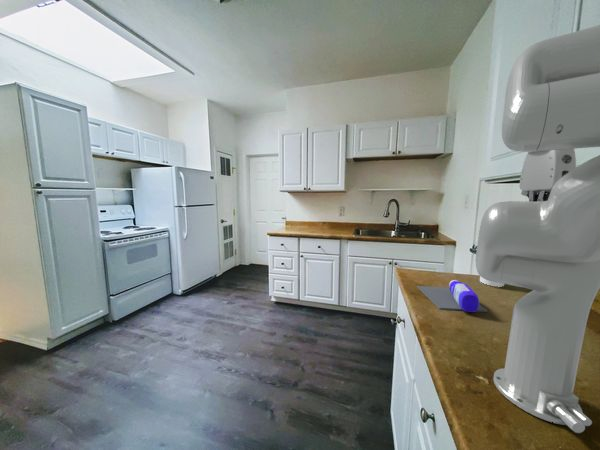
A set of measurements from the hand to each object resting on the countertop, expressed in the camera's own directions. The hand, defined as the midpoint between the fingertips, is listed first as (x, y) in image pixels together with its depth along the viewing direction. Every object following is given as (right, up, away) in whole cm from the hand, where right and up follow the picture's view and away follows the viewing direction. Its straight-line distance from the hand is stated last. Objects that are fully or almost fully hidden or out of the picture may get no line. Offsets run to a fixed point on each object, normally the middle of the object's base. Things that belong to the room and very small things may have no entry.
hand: (537, 218), depth 61 cm
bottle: (-5, -28, +17) cm, 34 cm away
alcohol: (+25, -29, +46) cm, 60 cm away
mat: (-4, -31, +31) cm, 44 cm away
